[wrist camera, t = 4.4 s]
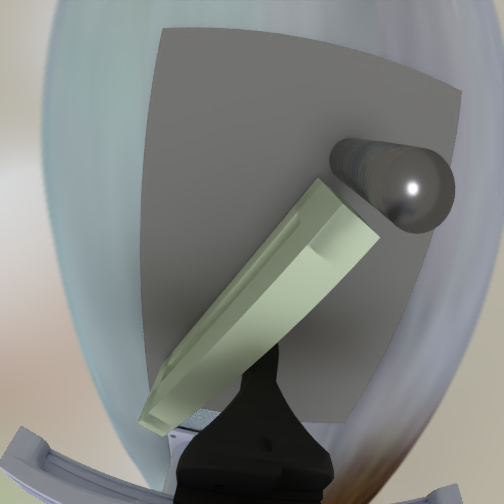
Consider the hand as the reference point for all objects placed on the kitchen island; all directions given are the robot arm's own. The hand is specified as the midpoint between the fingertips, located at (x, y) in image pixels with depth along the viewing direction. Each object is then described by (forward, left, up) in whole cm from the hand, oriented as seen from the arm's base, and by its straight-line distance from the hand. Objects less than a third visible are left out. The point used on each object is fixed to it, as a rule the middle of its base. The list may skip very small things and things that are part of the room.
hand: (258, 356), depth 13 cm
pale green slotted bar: (+2, +1, -2) cm, 3 cm away
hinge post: (+9, -2, -3) cm, 10 cm away
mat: (+3, 0, -3) cm, 4 cm away
